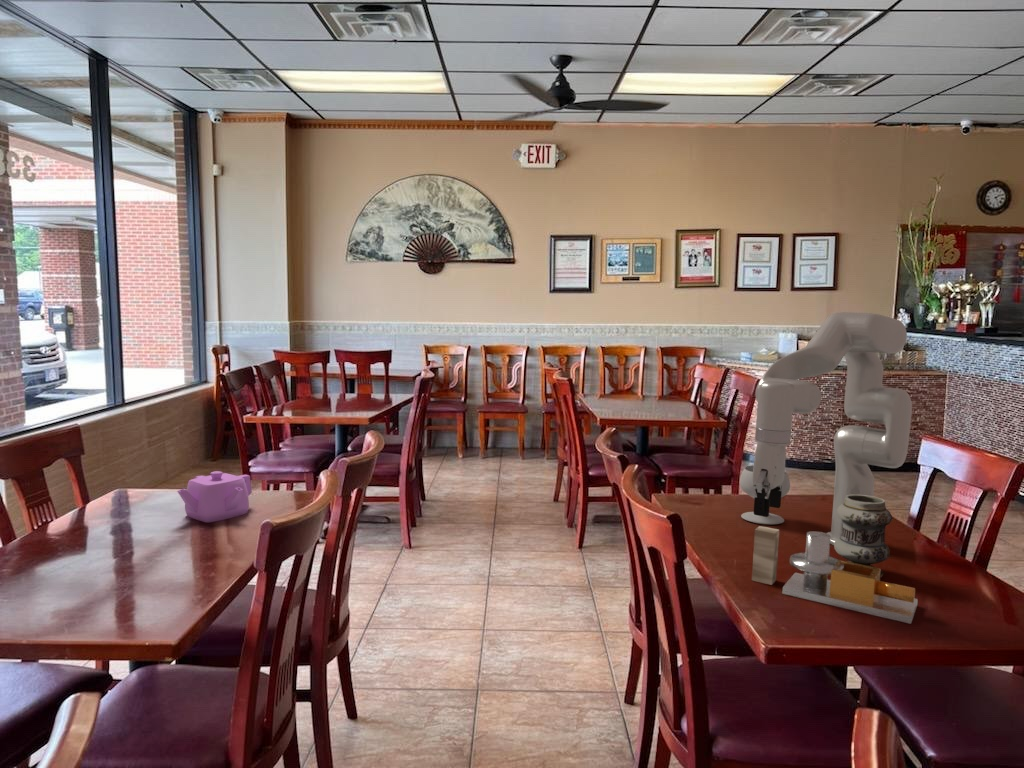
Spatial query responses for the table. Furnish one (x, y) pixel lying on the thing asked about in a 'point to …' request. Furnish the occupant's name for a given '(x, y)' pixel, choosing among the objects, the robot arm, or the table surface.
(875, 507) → the apothecary jar
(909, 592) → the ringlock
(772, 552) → the cream rectangular block
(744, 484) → the chalice
